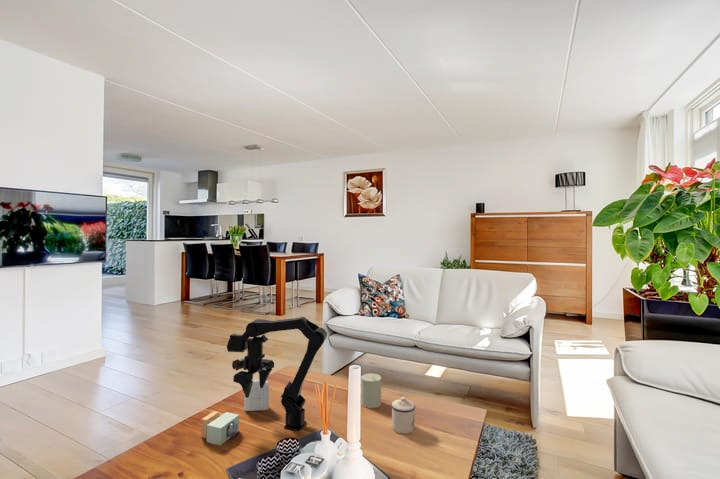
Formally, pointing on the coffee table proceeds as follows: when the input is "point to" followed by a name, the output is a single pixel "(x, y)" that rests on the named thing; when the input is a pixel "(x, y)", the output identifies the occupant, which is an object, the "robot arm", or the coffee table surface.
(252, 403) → the photo printer
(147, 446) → the coffee table surface
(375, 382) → the can
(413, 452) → the coffee table surface
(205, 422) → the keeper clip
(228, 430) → the pin
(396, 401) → the teacup with lid
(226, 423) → the block
